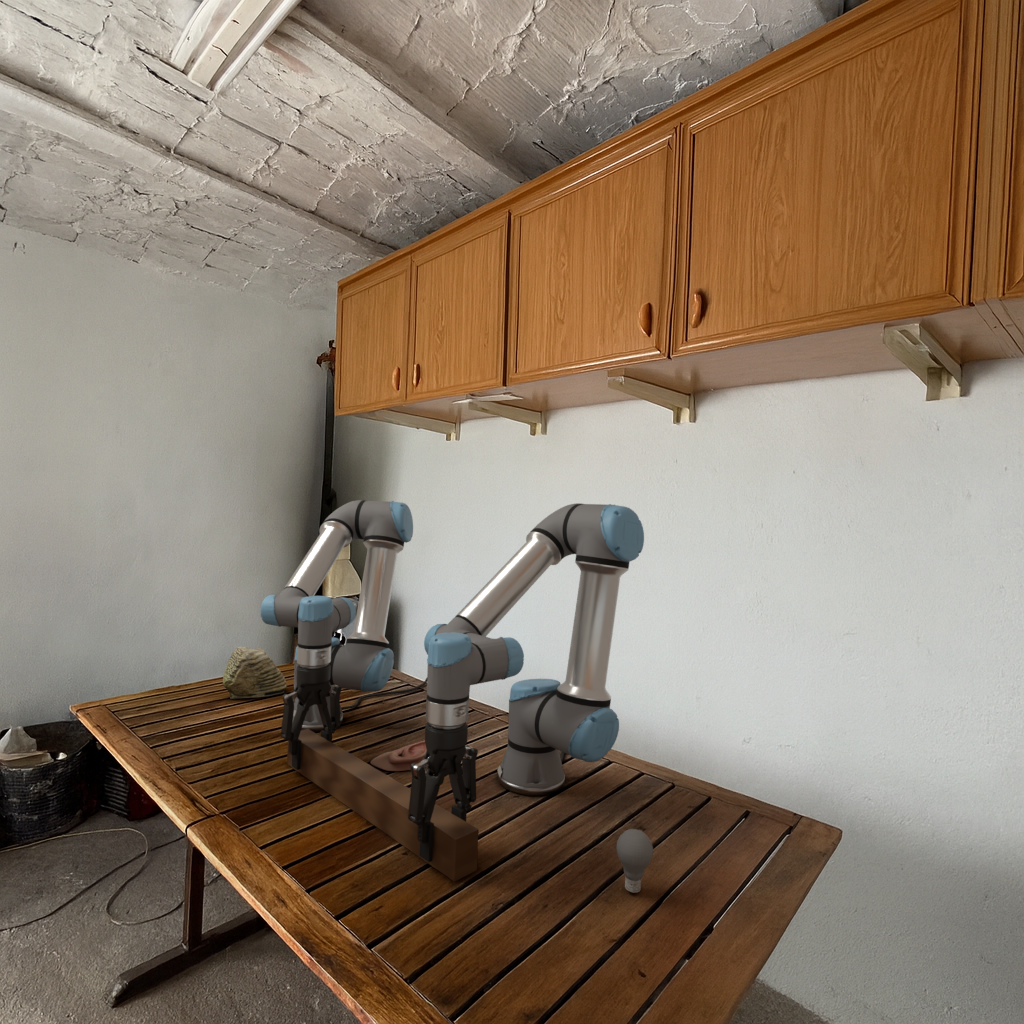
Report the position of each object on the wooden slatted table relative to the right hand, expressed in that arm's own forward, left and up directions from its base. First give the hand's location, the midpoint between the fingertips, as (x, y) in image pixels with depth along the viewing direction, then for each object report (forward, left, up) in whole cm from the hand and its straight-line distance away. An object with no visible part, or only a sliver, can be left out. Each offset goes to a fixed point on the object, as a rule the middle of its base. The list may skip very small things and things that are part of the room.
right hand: (441, 850), depth 113 cm
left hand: (-5, -48, 0) cm, 48 cm away
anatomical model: (-22, -36, -2) cm, 43 cm away
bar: (-3, -24, -2) cm, 24 cm away
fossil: (-24, -107, -2) cm, 109 cm away
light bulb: (-15, +30, -2) cm, 34 cm away
